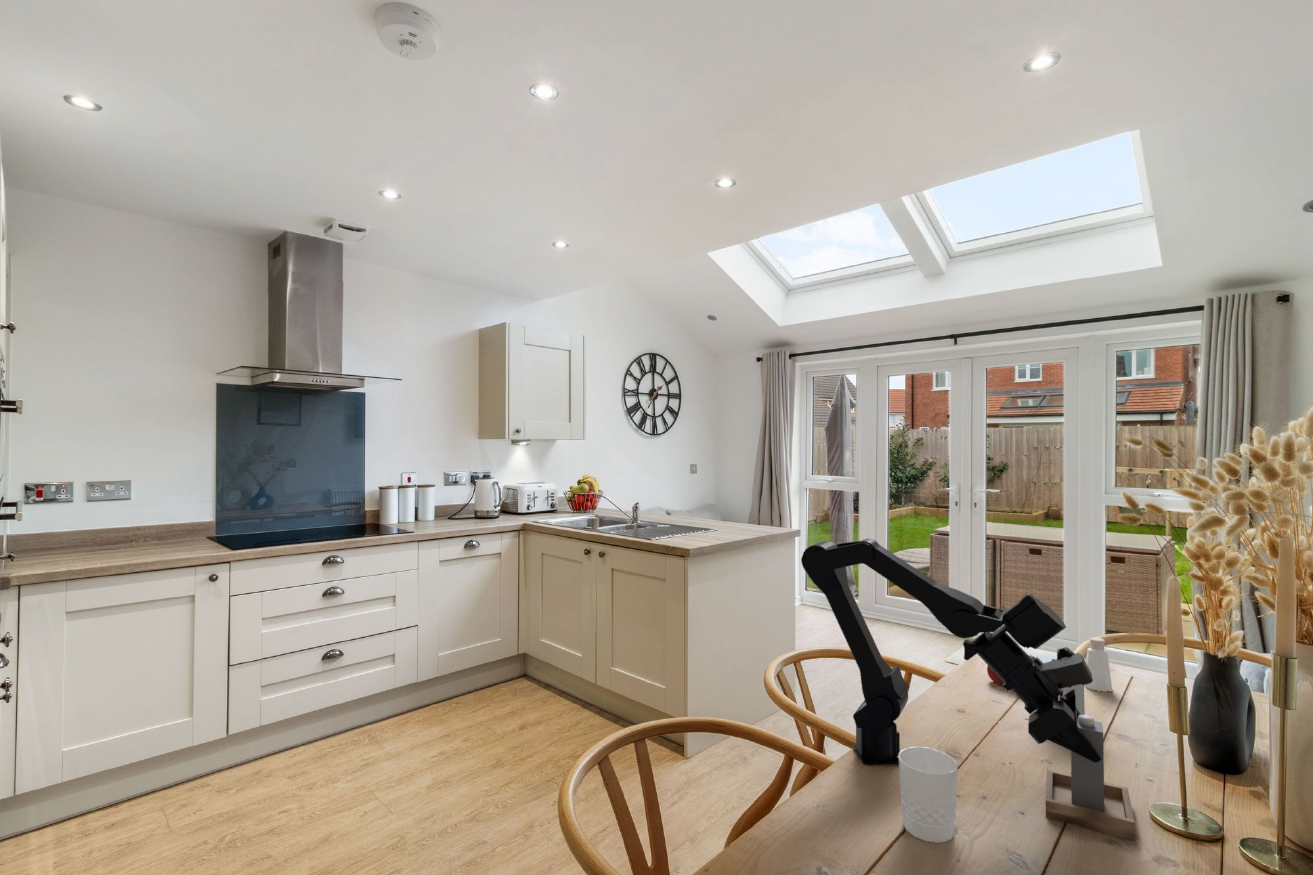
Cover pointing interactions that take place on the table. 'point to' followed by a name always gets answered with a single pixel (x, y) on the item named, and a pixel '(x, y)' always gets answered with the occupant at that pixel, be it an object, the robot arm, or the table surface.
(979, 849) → the table surface
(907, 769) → the white cup
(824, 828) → the table surface
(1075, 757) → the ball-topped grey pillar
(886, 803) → the table surface
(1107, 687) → the pepper shaker
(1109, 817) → the wooden tray
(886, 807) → the table surface
